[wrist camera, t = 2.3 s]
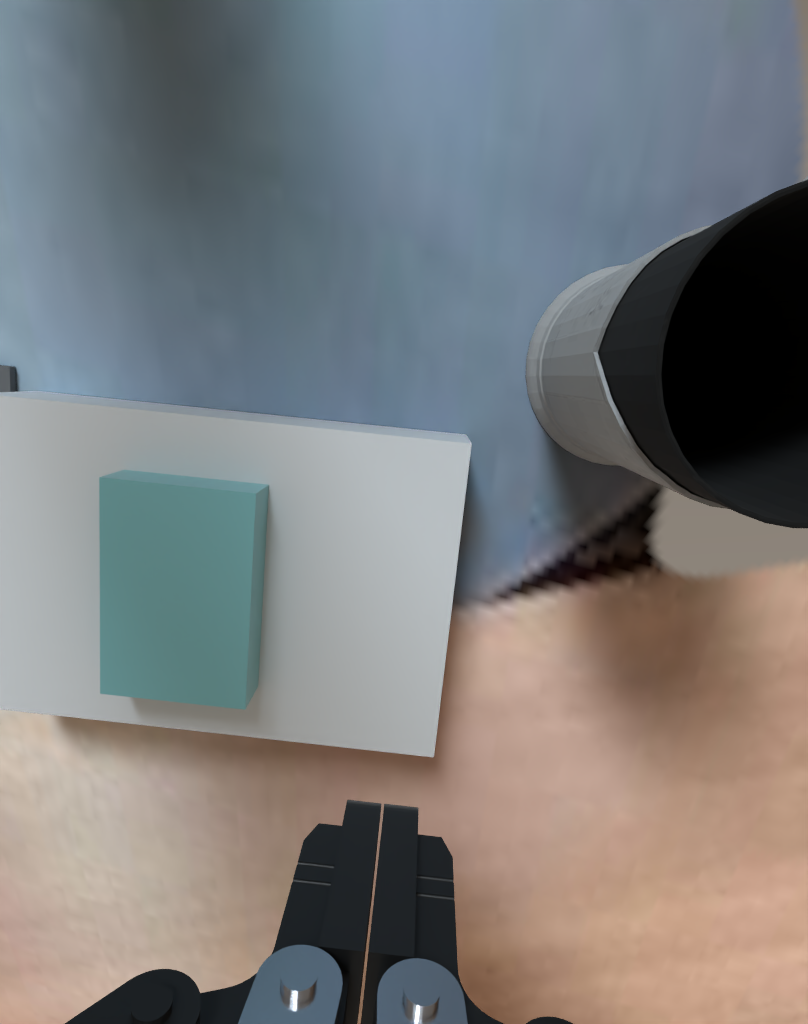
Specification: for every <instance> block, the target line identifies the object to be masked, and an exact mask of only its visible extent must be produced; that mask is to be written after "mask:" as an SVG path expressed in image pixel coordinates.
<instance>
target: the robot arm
mask: <svg viewBox="0 0 808 1024" xmlns="http://www.w3.org/2000/svg"><path fill="white" fill-rule="evenodd" d="M380 813H381V804H380V803H371V802H362V801H354V800H348V801H347V805H346V810H345V815H344V820H343V825H342V826H337V825H328V824H318V825H317V826H316V827H315V828H314V829H313V831H312V832H311V833H310V834H309V835H308V836H307V837H306V838H305V840H304V842H303V845H302V849H301V853H300V856H299V860H298V865H297V867H296V871H295V874H294V878H293V883H292V885H291V889H290V893H289V896H288V900H287V904H286V907H285V911H284V915H283V918H282V922H281V925H280V929H279V933H278V936H277V940H276V944H275V947H274V950H273V953H272V955H271V956H269V957H268V958H267V959H266V960H265V961H264V963H263V964H262V965H261V967H260V968H259V970H258V972H257V974H255V975H254V976H253V977H251V978H250V979H248V980H246V981H244V982H243V983H240V984H238V985H235V986H232V987H229V988H225V989H220V990H215V991H210V992H205V993H200V992H199V989H198V987H197V985H196V984H195V982H194V981H193V980H192V979H191V978H190V977H189V976H187V975H186V974H184V973H182V972H179V971H177V970H171V969H158V970H152V971H149V972H145V973H143V974H140V975H138V976H136V977H134V978H133V979H131V980H129V981H128V982H126V983H125V984H123V985H122V986H120V987H119V988H117V989H116V990H114V991H113V992H111V993H110V994H108V995H107V996H105V997H104V998H102V999H101V1000H99V1001H98V1002H96V1003H95V1004H93V1005H92V1006H90V1007H89V1008H87V1009H86V1010H84V1011H83V1012H81V1013H80V1014H78V1015H77V1016H75V1017H74V1018H73V1019H71V1020H70V1021H68V1022H67V1023H65V1024H357V1022H358V1013H359V1004H360V996H361V987H362V978H363V969H364V960H365V952H366V943H367V934H368V925H369V916H370V907H371V899H372V890H373V880H374V871H375V861H376V852H377V842H378V832H379V823H380ZM361 1024H503V1023H501V1022H499V1021H497V1020H495V1019H493V1018H491V1017H489V1016H488V1015H486V1014H485V1013H484V1012H482V1011H481V1010H480V1009H479V1008H478V1007H477V1006H475V1005H474V1003H473V1002H472V1001H471V1000H470V999H469V997H468V996H467V994H466V993H465V991H464V989H463V987H462V985H461V982H460V979H459V975H458V967H457V945H456V923H455V902H454V883H453V858H452V855H451V854H450V852H449V850H448V848H447V846H446V845H445V843H444V841H443V839H442V837H434V836H425V835H418V808H416V807H408V806H399V805H390V804H384V813H383V822H382V831H381V841H380V850H379V859H378V868H377V878H376V887H375V896H374V905H373V915H372V924H371V933H370V942H369V952H368V961H367V971H366V980H365V990H364V1000H363V1009H362V1019H361ZM526 1024H573V1023H571V1022H568V1021H566V1020H563V1019H560V1018H556V1017H539V1018H536V1019H533V1020H531V1021H529V1022H528V1023H526Z"/></svg>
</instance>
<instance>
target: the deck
mask: <svg viewBox="0 0 808 1024" xmlns="http://www.w3.org/2000/svg"><path fill="white" fill-rule="evenodd" d="M471 445H472V443H471V442H470V440H469V439H468V437H467V435H466V434H456V433H446V432H436V431H426V430H416V429H407V428H397V427H387V426H377V425H367V424H358V423H348V422H338V421H328V420H318V419H308V418H299V417H289V416H279V415H269V414H259V413H249V412H240V411H230V410H220V409H210V408H200V407H191V406H181V405H171V404H161V403H151V402H141V401H132V400H122V399H112V398H102V397H92V396H82V395H73V394H63V393H53V392H43V391H21V392H0V709H2V710H11V711H20V712H29V713H38V714H47V715H56V716H65V717H74V718H83V719H92V720H101V721H110V722H119V723H128V724H137V725H146V726H155V727H164V728H173V729H182V730H191V731H200V732H209V733H218V734H227V735H236V736H245V737H254V738H263V739H272V740H281V741H290V742H299V743H308V744H317V745H326V746H335V747H344V748H353V749H362V750H371V751H380V752H389V753H398V754H407V755H416V756H426V757H434V752H435V744H436V735H437V727H438V719H439V711H440V702H441V694H442V686H443V677H444V669H445V661H446V652H447V644H448V636H449V628H450V619H451V611H452V603H453V594H454V586H455V578H456V570H457V561H458V553H459V545H460V536H461V528H462V520H463V511H464V503H465V495H466V487H467V478H468V470H469V462H470V453H471ZM121 470H132V471H142V472H151V473H161V474H171V475H180V476H190V477H200V478H209V479H219V480H229V481H238V482H248V483H257V484H267V485H269V494H268V513H267V531H266V550H265V568H264V587H263V606H262V624H261V643H260V662H259V680H258V688H257V689H256V691H255V693H254V695H253V697H252V698H251V700H250V702H249V704H248V706H247V708H246V709H245V710H243V709H234V708H225V707H216V706H207V705H198V704H189V703H180V702H170V701H161V700H152V699H143V698H134V697H125V696H116V695H107V694H100V540H99V477H102V476H105V475H108V474H111V473H115V472H118V471H121Z"/></svg>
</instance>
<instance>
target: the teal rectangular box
mask: <svg viewBox="0 0 808 1024" xmlns="http://www.w3.org/2000/svg"><path fill="white" fill-rule="evenodd" d="M268 494H269V485H267V484H257V483H248V482H238V481H229V480H219V479H209V478H200V477H190V476H180V475H171V474H161V473H151V472H142V471H132V470H121V471H118V472H115V473H111V474H108V475H105V476H102V477H99V540H100V694H107V695H116V696H125V697H134V698H143V699H152V700H161V701H170V702H180V703H189V704H198V705H207V706H216V707H225V708H234V709H243V710H245V709H246V708H247V706H248V704H249V702H250V700H251V698H252V697H253V695H254V693H255V691H256V689H257V688H258V680H259V662H260V643H261V624H262V606H263V587H264V568H265V550H266V531H267V513H268Z"/></svg>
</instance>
